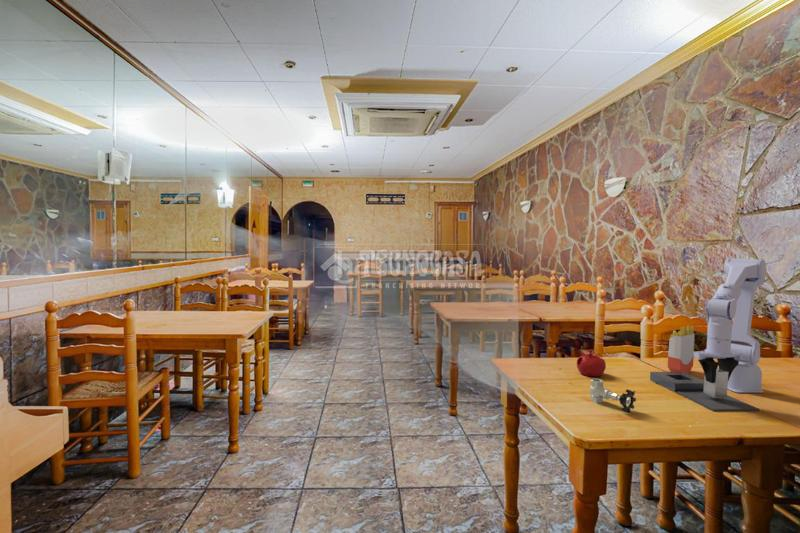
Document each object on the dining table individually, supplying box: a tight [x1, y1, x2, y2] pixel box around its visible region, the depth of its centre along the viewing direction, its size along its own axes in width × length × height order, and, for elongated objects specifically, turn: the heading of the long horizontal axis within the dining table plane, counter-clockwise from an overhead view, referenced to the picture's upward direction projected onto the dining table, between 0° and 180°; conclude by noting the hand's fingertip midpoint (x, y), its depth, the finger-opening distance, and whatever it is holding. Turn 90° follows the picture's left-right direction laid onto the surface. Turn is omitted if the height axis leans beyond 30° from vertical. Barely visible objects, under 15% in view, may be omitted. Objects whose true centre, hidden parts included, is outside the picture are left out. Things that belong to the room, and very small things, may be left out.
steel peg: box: [703, 367, 728, 398], centre depth 121 cm, size 4×4×8 cm
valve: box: [589, 377, 637, 414], centre depth 117 cm, size 7×7×12 cm
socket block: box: [649, 371, 704, 393], centre depth 134 cm, size 12×12×3 cm
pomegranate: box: [576, 349, 607, 378], centre depth 146 cm, size 10×10×9 cm
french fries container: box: [667, 325, 695, 374], centre depth 149 cm, size 5×11×18 cm, turn 122°
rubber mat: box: [676, 392, 760, 412], centre depth 120 cm, size 14×14×1 cm
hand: (716, 381), depth 120 cm, fingers closed on steel peg, 4 cm apart
